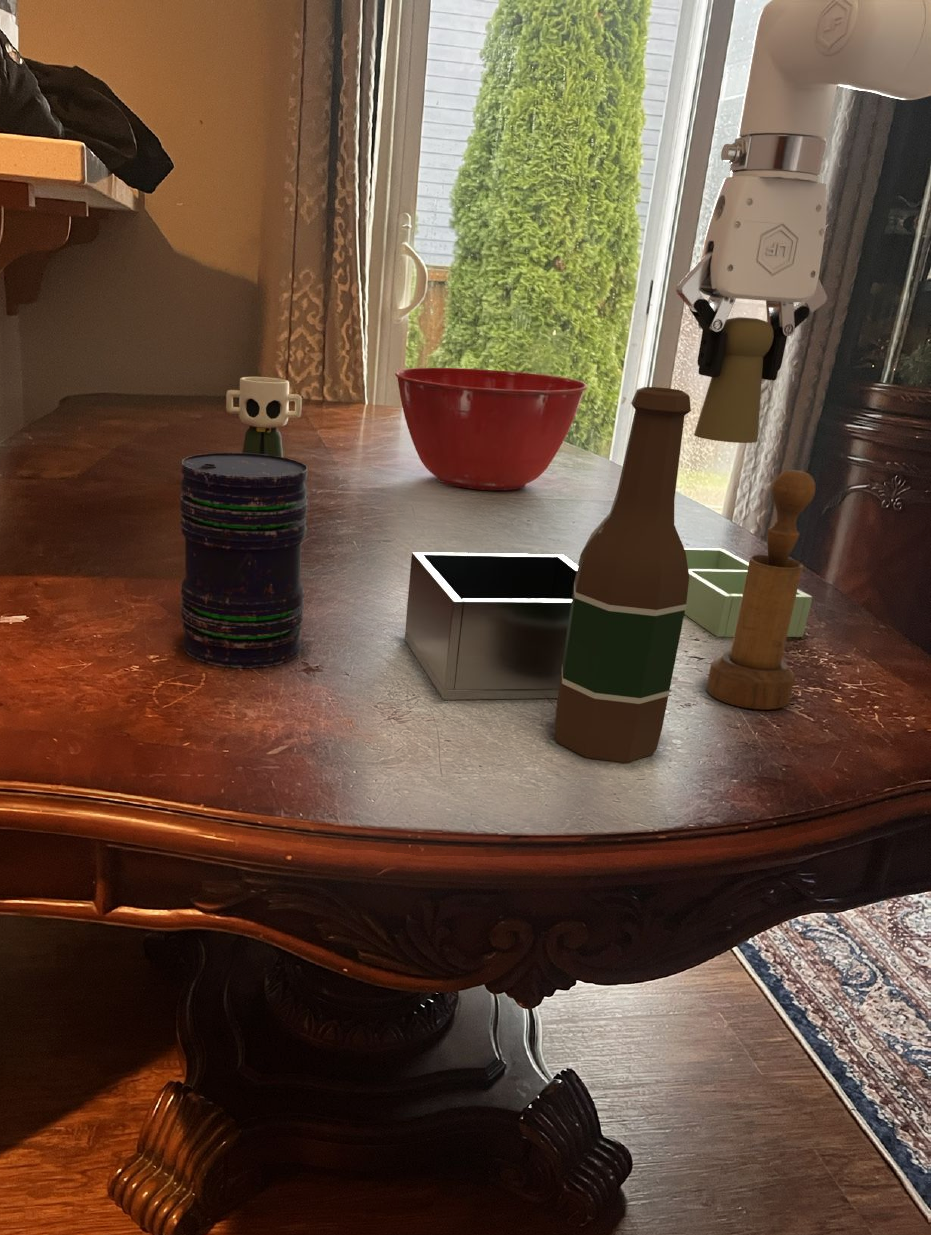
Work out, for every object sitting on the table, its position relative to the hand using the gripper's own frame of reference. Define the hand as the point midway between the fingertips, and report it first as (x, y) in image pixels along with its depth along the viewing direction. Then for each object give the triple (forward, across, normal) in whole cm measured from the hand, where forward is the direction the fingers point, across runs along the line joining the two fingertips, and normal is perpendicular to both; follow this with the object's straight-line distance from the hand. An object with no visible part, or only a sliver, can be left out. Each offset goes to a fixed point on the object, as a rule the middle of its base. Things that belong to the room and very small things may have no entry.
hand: (737, 375), depth 100 cm
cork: (+6, 0, 0) cm, 6 cm away
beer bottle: (+23, -24, -33) cm, 47 cm away
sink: (+23, -27, -19) cm, 40 cm away
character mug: (+22, -40, +62) cm, 77 cm away
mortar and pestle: (+23, -8, -25) cm, 35 cm away
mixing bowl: (+22, -6, +59) cm, 63 cm away
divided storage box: (+22, +1, -3) cm, 23 cm away
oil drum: (+23, -48, -14) cm, 55 cm away
